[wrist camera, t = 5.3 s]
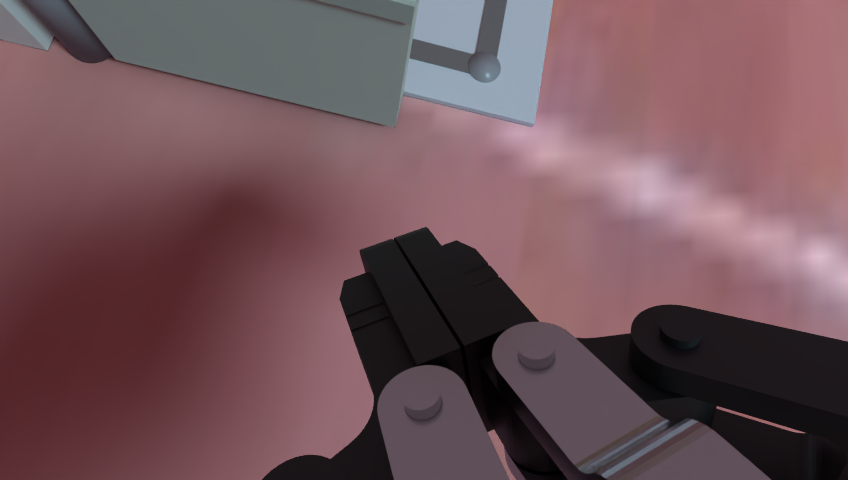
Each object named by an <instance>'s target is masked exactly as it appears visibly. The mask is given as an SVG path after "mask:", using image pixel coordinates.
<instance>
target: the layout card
mask: <svg viewBox="0 0 848 480" xmlns="http://www.w3.org/2000/svg"><path fill="white" fill-rule="evenodd" d="M552 5H553V0H419V6H418V11H417V17H416V23H415V29H414V34H413V40H412V46H411V52H410V58H409V63H408V69H407V75H406V81H405V86H404V92H403V95H406V96H410V97H414V98H418V99H422V100H426V101H430V102H434V103H438V104H442V105H446V106H450V107H454V108H458V109H462V110H466V111H470V112H474V113H478V114H483V115H487V116H491V117H495V118H499V119H503V120H507V121H511V122H515V123H519V124H523V125H527V126H531V127H533V125H534V124H535V118H536V111H537V105H538V98H539V91H540V85H541V78H542V71H543V65H544V58H545V51H546V45H547V38H548V31H549V25H550V18H551V11H552Z"/></svg>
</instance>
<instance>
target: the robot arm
mask: <svg viewBox="0 0 848 480" xmlns="http://www.w3.org/2000/svg"><path fill="white" fill-rule="evenodd" d="M360 255H361V259H362V262H363V266H364V269H365V272H366V273H364V274H362V275H359V276H356V277H353V278H351V279H348V280H345V281H344V283H343V287H342V292H341V296H340V301H341V304H342V307H343V310H344V313H345V316H346V319H347V322H348V324H349V327H350V330H351V333H352V336H353V339H354V342H355V345H356V347H357V350H358V353H359V356H360V359H361V361H362V364H363V367H364V370H365V372H366V375H367V378H368V381H369V384H370V386H371V389H372V392H373V395H374V406H373V411H372V414H371V417H370V419H369V421H368V423H367V424H366V426H365V428H364V429H363V431H362V432H361V433H360V434H359V435H358V436H357V437H356V438H355V439H354V440H353V441H352V442H351V443H350V444H349V445H347V446H346V447H345V448H344V449H342V450H341V451H340V452H339V453H338V454H336V455H335V456H334V457H333V458H331V459H328V458H326V457H323V456H319V455H304V456H299V457H295V458H293V459H290V460H287V461H285V462H284V463H282V464H280V465H278V466H277V467H276V468H274V469H273V470H271V471H270V472H269V473H268V474H267V475H266V476H265V477H264V478H263V479H262V480H509V478H508V475H507V473H506V471H505V469H504V467H503V465H502V463H501V460H500V458H499V456H498V454H497V452H496V450H495V448H494V445H493V443H492V441H491V439H490V437H489V435H488V432H489V431H491V430H493V429H494V430H495V431H496V433H497V435H498V437H499V438H500V440H501V442H502V443H503V445H504V451H505V458H506V462H507V465H508V467H509V469H510V471H511V473H512V474H513V476H514V477H515V479H516V480H848V342H847V341H842V340H838V339H833V338H829V337H824V336H819V335H815V334H810V333H806V332H801V331H797V330H792V329H787V328H783V327H778V326H774V325H769V324H765V323H760V322H755V321H751V320H746V319H742V318H737V317H733V316H728V315H723V314H719V313H714V312H710V311H705V310H701V309H696V308H691V307H687V306H681V305H660V306H654V307H651V308H648V309H646V310H644V311H642V312H641V313H640V314H638V315H637V317H636V318H635V319H634V321H633V323H632V327H631V333H630V334H622V335H614V336H606V337H598V338H575V337H574V336H573V335H572V334H570V333H569V332H568V331H566V330H565V329H563V328H561V327H559V326H556V325H554V324H550V323H545V322H539V321H538V320H537V319H536V317H535V316H534V315H533V314H532V313H531V312H530V311H529V309H528V308H527V307H526V306H525V305H524V304H523V303H522V302H521V300H520V299H519V298H518V297H517V296H516V295H515V294H514V292H513V291H512V290H511V289H510V288H509V287H508V286H507V284H506V283H505V282H504V281H503V280H502V279H501V278H499V277H498V274H497V273H496V272H495V271H494V270H493V268H492V267H491V266H489V265H488V263H487V262H486V260H485V259H484V258H483V257H482V256H481V255H480V254H479V253H478V251H477V250H476V249H474V248H472V247H470V246H467V245H465V244H463V243H461V242H459V241H453V242H451V243H448V244H445V245H442V246H441V245H440V243H439V242H438V241H437V239H436V238H435V237H434V235H433V234H432V233H431V232H430V230H429V229H428V228H427V227H424V228H421V229H418V230H416V231H413V232H410V233H407V234H404V235H401V236H398V237H395V238H394V240H393V239H390V240H387V241H384V242H381V243H379V244H376V245H373V246H370V247H367V248H364V249H361V250H360ZM717 406H719V407H723V408H726V409H729V410H733V411H736V412H739V413H743V414H746V415H749V416H752V417H756V418H759V419H762V420H766V421H769V422H772V423H776V424H779V425H782V426H785V427H789V428H792V429H795V430H799V431H802V432H805V433H796V432H791V431H788V430H784V429H781V428H778V427H775V426H771V425H768V424H765V423H761V422H758V421H755V420H752V419H748V418H745V417H742V416H739V415H735V414H732V413H729V412H725V411H722V410H719V409H716V407H717Z"/></svg>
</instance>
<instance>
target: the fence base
mask: <svg viewBox="0 0 848 480" xmlns="http://www.w3.org/2000/svg"><path fill="white" fill-rule="evenodd" d="M54 36H55V37H56V38H57V39H58V40H59V41H60V43H61V44H62V45H63V46H64V47H65V48H66V49H67V50H68V51H69V52H70V53H71V54H72V56H73V57H75V58H76V59H78V60H80V61H82V62H86V63H98V62H101V61H104V60H106V59H108V58H109V57H111V56H112V54H111V53H110V52H109V51H108V49H107V48H106V47H105V46H104V44H103V43H102V42H101V41H100V39H99V38H98V37H97V36H96V34H95V33H94V32H93V31H92V29H91V28H90V27H89V25H88V24H87V23H86V22H85V20H84V19H83V18H82V17H81V15H80V14H79V13H78V12H77V10H76V9H75V8H74V7H73V5H72V4H71V3H70V1H69V0H0V39H1V40H5V41H9V42H13V43H17V44H21V45H25V46H30V47H34V48H38V49H42V50H46V51H48V49H49V46H50V44H51V42H52V40H53V38H54Z"/></svg>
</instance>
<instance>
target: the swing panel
mask: <svg viewBox="0 0 848 480" xmlns="http://www.w3.org/2000/svg"><path fill="white" fill-rule="evenodd" d="M69 1H70V3H71V4H72V5H73V7H74V8H75V9H76V10H77V12H78V13H79V14H80V15H81V17H82V18H83V19H84V20H85V22H86V23H87V24H88V25H89V27H90V28H91V29H92V31H93V32H94V33H95V34H96V36H97V37H98V38H99V39H100V41H101V42H102V43H103V44H104V46H105V47H106V48H107V49H108V51H109V52H110V53H111V54H112V56H113V57H114V58H115V60H119V61H123V62H127V63H131V64H135V65H139V66H143V67H148V68H152V69H156V70H160V71H164V72H168V73H172V74H176V75H181V76H185V77H189V78H193V79H197V80H201V81H205V82H209V83H213V84H218V85H222V86H226V87H230V88H234V89H238V90H242V91H246V92H251V93H255V94H259V95H263V96H267V97H271V98H275V99H279V100H283V101H288V102H292V103H296V104H300V105H304V106H308V107H312V108H316V109H321V110H325V111H329V112H333V113H337V114H341V115H345V116H349V117H354V118H358V119H362V120H366V121H370V122H374V123H378V124H382V125H386V126H391V127H395V126H396V122H397V118H398V113H399V109H400V105H401V101H402V96H403V92H404V86H405V81H406V75H407V69H408V63H409V58H410V52H411V46H412V40H413V34H414V29H415V23H416V17H417V11H418V6H419V0H69Z"/></svg>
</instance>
